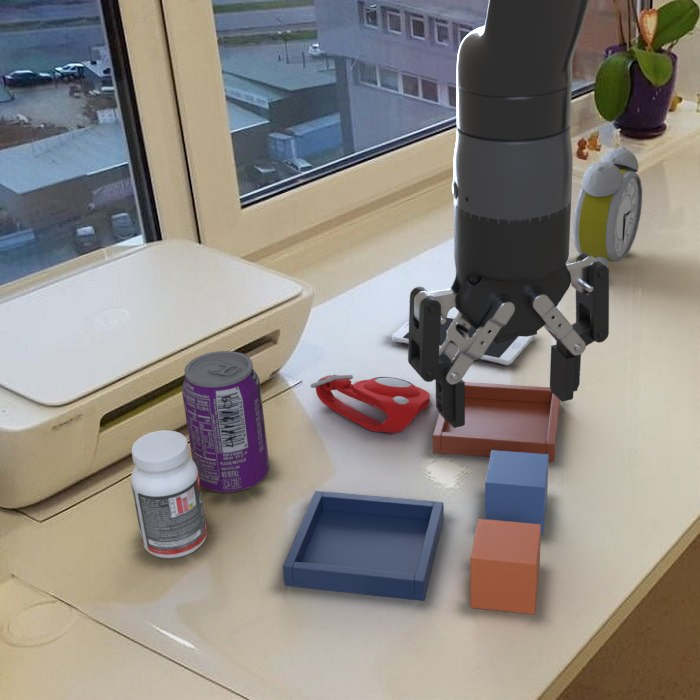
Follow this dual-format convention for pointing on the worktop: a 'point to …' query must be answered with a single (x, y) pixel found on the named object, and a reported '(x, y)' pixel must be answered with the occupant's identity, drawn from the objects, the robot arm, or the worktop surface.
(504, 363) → the smartphone
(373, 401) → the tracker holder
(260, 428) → the beverage can
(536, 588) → the terracotta block
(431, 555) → the blue tray
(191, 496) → the pill bottle
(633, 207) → the alarm clock
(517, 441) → the terracotta tray
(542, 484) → the blue block
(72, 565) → the worktop surface
